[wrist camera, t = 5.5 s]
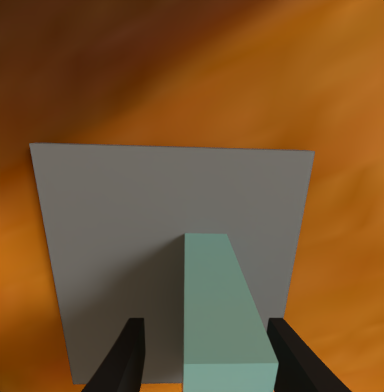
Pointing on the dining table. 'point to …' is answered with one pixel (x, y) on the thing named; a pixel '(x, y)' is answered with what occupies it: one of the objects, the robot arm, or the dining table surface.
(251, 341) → the block
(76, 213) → the mat
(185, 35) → the dining table surface
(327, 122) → the dining table surface
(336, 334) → the dining table surface
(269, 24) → the dining table surface
